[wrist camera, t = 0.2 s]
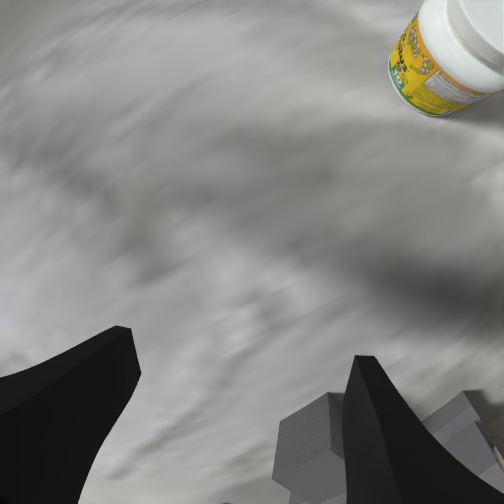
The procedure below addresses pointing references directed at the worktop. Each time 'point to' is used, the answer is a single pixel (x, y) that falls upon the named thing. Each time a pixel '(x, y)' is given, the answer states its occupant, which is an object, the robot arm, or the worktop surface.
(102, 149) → the worktop surface
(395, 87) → the supplement bottle
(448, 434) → the scale
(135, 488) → the worktop surface
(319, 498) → the block
